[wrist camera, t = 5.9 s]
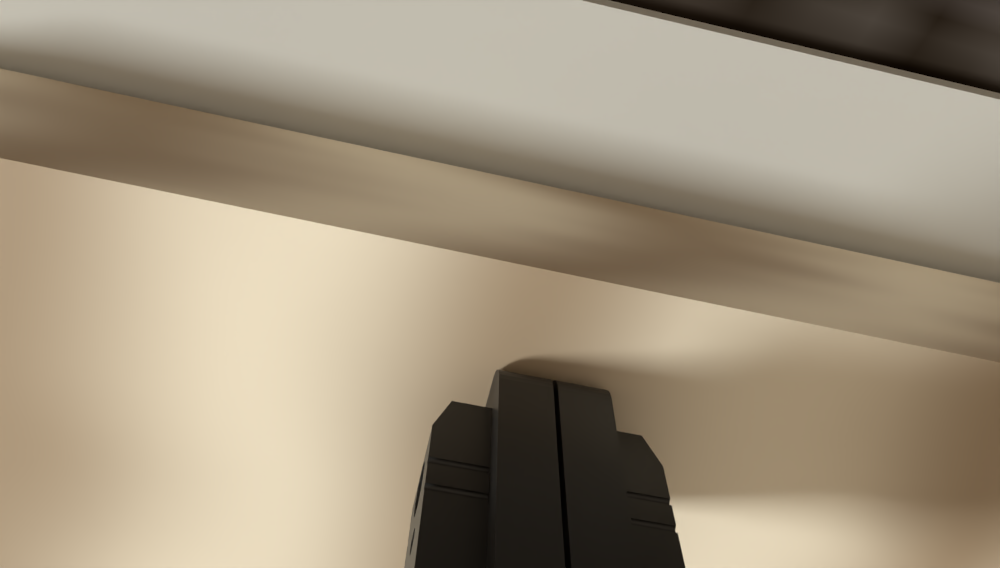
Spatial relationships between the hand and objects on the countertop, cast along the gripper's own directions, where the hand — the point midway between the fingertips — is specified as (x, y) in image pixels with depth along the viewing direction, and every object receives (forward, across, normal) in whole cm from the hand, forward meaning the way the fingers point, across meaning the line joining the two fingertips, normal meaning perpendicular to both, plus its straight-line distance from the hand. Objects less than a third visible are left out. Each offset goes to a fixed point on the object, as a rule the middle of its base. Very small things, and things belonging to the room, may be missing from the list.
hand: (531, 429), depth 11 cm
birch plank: (+2, 0, +3) cm, 4 cm away
